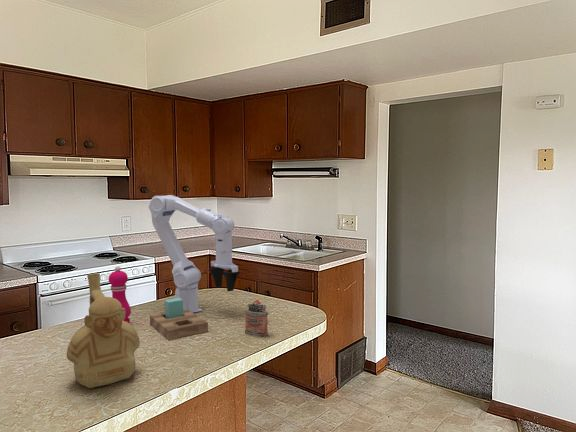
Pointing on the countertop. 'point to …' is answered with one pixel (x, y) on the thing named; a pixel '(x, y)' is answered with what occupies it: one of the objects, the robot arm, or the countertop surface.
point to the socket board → (179, 325)
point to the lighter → (256, 320)
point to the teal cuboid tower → (173, 308)
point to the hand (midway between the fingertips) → (224, 288)
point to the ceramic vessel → (103, 341)
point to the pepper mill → (120, 289)
